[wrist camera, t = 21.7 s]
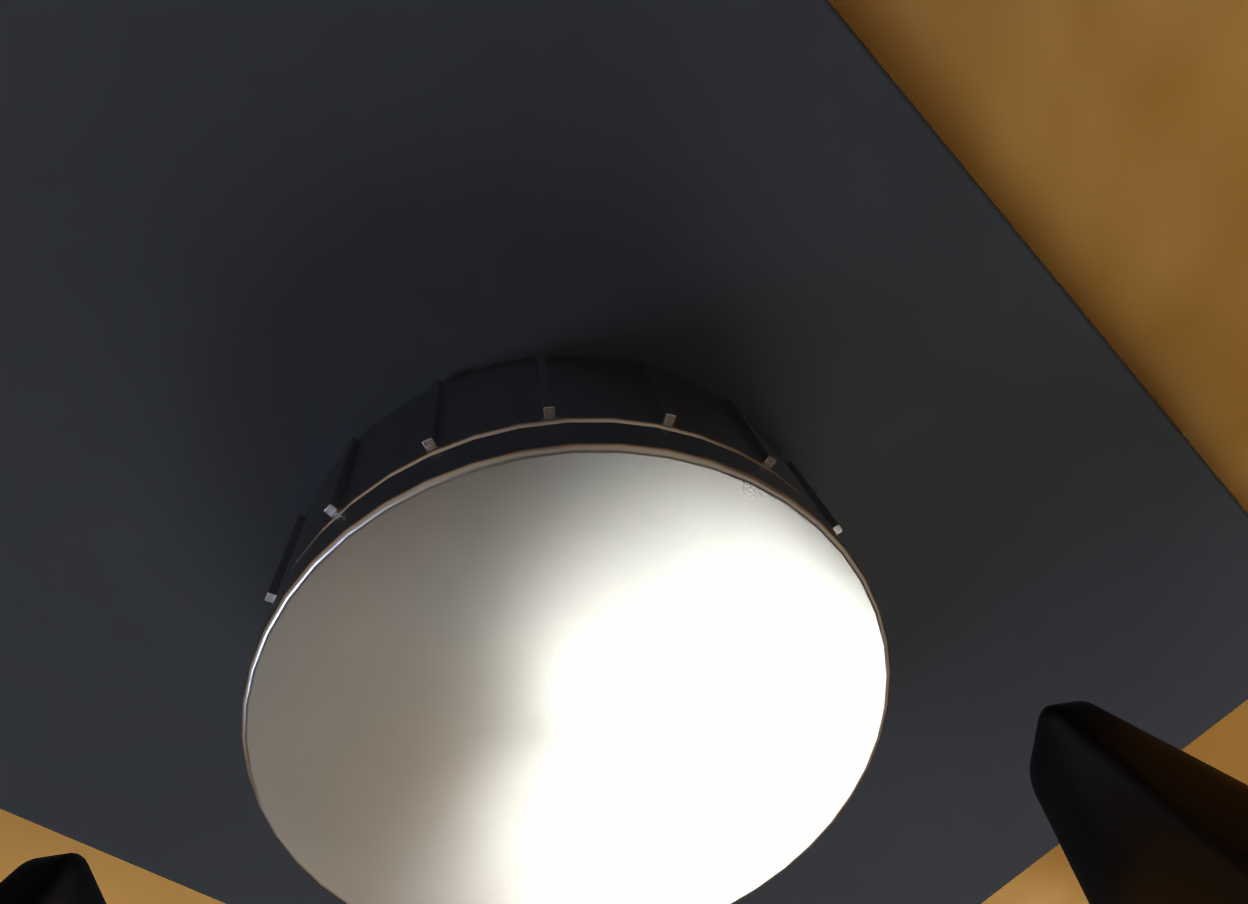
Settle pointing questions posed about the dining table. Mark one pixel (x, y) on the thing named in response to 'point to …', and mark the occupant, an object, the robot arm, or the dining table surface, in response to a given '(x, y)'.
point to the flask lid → (562, 651)
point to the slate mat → (558, 327)
